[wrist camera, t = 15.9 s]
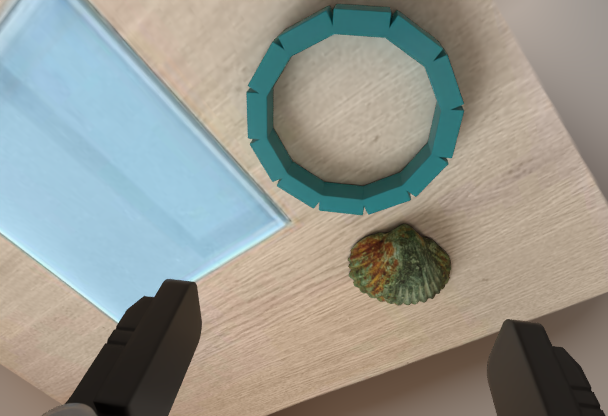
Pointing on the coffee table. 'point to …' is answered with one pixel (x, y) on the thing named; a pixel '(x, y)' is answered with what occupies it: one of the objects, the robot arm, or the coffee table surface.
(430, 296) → the seashell
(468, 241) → the coffee table surface
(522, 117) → the coffee table surface
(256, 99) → the ring
